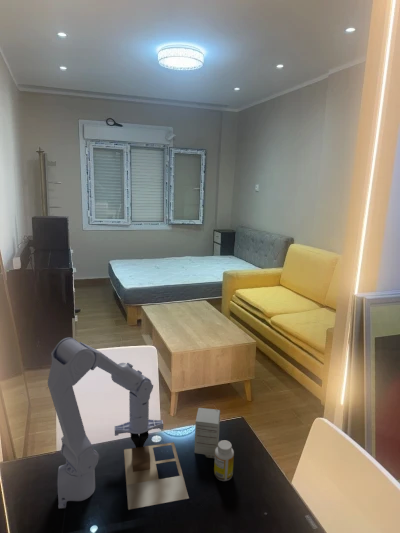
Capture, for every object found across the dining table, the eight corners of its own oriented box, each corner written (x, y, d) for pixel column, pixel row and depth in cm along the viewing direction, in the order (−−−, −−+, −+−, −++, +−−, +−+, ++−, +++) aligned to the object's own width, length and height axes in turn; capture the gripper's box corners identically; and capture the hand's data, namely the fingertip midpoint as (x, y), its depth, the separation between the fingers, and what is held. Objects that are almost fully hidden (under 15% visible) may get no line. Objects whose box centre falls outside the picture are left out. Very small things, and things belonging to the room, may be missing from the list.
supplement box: (197, 440, 120) (198, 406, 118) (219, 443, 120) (220, 409, 117) (193, 456, 113) (194, 421, 111) (217, 459, 112) (219, 423, 110)
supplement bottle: (230, 467, 110) (232, 437, 107) (234, 481, 104) (236, 451, 102) (212, 467, 109) (214, 438, 107) (215, 482, 104) (216, 451, 101)
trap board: (128, 513, 93) (128, 509, 93) (123, 452, 114) (123, 449, 113) (188, 501, 97) (188, 498, 97) (173, 445, 118) (174, 442, 117)
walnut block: (133, 472, 105) (132, 460, 104) (131, 459, 109) (131, 448, 109) (150, 469, 106) (150, 457, 105) (148, 457, 111) (148, 445, 110)
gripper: (161, 401, 114) (160, 438, 117) (113, 407, 110) (114, 445, 113) (164, 415, 107) (164, 454, 110) (114, 421, 104) (115, 462, 107)
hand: (139, 451), depth 111 cm, fingers closed, pressing on walnut block
